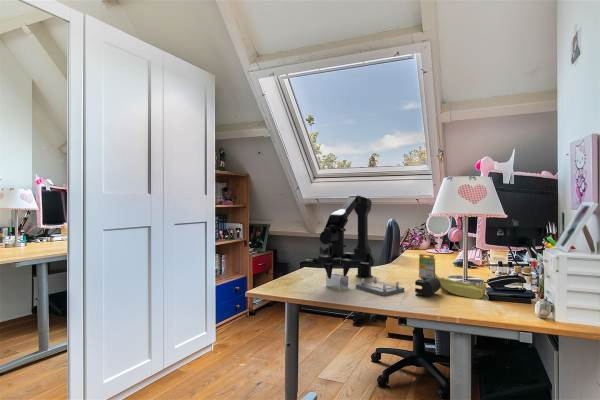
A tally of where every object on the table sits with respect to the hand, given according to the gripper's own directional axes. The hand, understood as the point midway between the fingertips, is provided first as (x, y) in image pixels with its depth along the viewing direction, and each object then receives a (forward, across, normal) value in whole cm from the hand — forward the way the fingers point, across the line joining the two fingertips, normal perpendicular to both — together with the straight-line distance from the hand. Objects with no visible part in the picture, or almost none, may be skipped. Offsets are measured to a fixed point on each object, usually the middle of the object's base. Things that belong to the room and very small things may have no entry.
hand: (337, 277), depth 162 cm
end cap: (+5, -22, +31) cm, 38 cm away
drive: (+4, 0, 0) cm, 5 cm away
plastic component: (+5, -36, +37) cm, 52 cm away
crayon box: (+5, -51, +11) cm, 52 cm away
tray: (+4, -12, +14) cm, 19 cm away
